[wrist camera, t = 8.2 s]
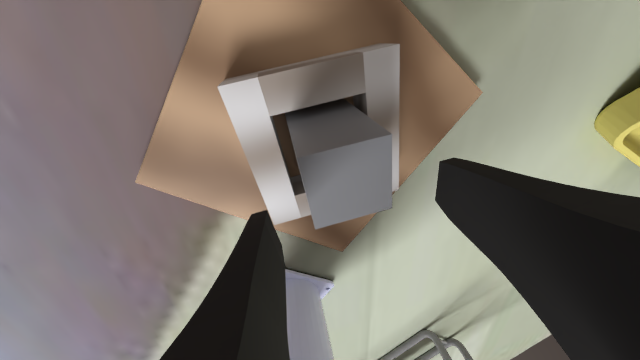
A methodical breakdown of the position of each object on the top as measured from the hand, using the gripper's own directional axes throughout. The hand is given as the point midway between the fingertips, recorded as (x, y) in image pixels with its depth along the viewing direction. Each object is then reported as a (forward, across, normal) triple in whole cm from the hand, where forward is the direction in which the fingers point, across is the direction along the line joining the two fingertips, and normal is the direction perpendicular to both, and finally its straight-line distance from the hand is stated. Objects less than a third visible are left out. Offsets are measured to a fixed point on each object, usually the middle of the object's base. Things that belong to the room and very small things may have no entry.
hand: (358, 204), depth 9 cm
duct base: (+9, 0, 0) cm, 9 cm away
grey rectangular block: (+8, 0, 0) cm, 8 cm away
